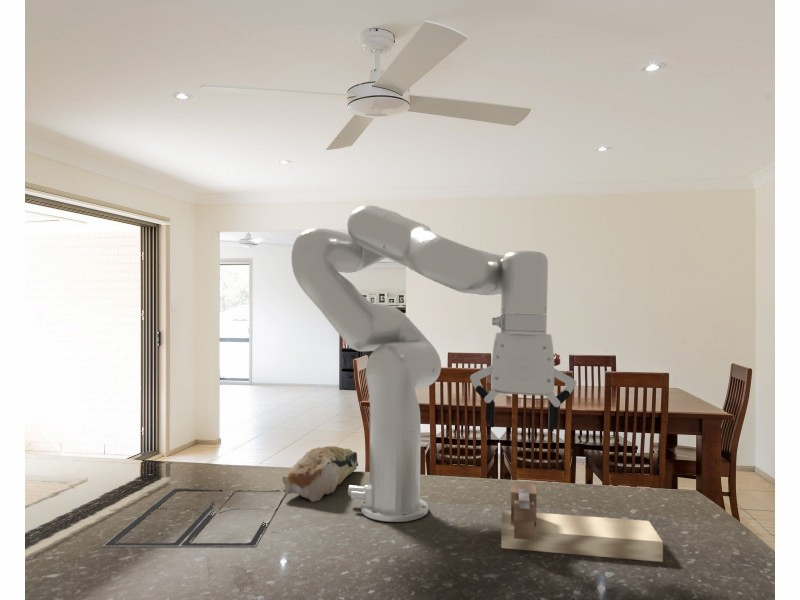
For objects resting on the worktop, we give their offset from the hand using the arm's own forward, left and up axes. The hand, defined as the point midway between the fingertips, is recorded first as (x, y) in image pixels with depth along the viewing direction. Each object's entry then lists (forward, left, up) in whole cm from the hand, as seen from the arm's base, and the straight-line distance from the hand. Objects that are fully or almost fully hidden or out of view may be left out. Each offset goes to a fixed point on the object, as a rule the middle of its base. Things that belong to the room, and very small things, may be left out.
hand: (521, 427), depth 95 cm
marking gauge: (0, -2, -16) cm, 16 cm away
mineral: (-40, +22, -19) cm, 50 cm away
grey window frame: (-56, -1, -19) cm, 59 cm away
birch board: (+9, 0, -18) cm, 20 cm away
